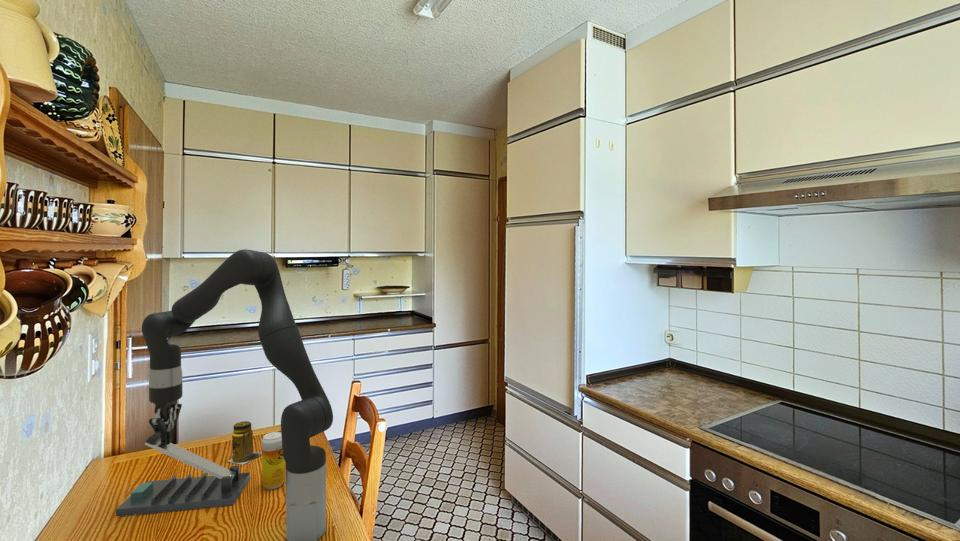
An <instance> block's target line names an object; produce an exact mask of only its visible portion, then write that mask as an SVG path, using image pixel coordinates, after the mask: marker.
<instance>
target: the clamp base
mask: <svg viewBox="0 0 960 541" xmlns="http://www.w3.org/2000/svg"><path fill="white" fill-rule="evenodd" d="M228 469H229V470H231V471H235V472H236V475H235V477H234V478H233V479H232V476H225V477H222V478H221V479H219V478H217V477H214V476H212V475H207V473H206V472H203V474H201V476H195V477H194V476H193V477H192V474H191V473H189V474H188V475H187V476H186V477H181V478H177V475H173V476H172V477H171V478H170V479H169V478H168V479H160V480H149V481H148V480H146V481H145V482H141V483H140V484H139V485H137V486H136V487H135V488H134V489H133V490H132V491H130V493H129V494H130V496H129V497H128V498H126V500H124V501H123V502H122V503H121V504H120V505H119V506H118V507H116V509H115V517H116V516H121V517H127V516H126V515H131V516H135V515H134V514H141V515H147V514H148V515H149V514H151V515H152V514H159V513H167V512H177V511H178V512H181V511H189V510H197V509H208V508H218V507H229V506H234V505H235V503H236V502H237V500H238V498H239V497H240V496H241V494H242V492H243V491H244V489H245V488H246V486H247V484H248V483H249V481H250V480H251V472H241V471H240V465H230V467H229V468H228Z"/></svg>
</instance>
